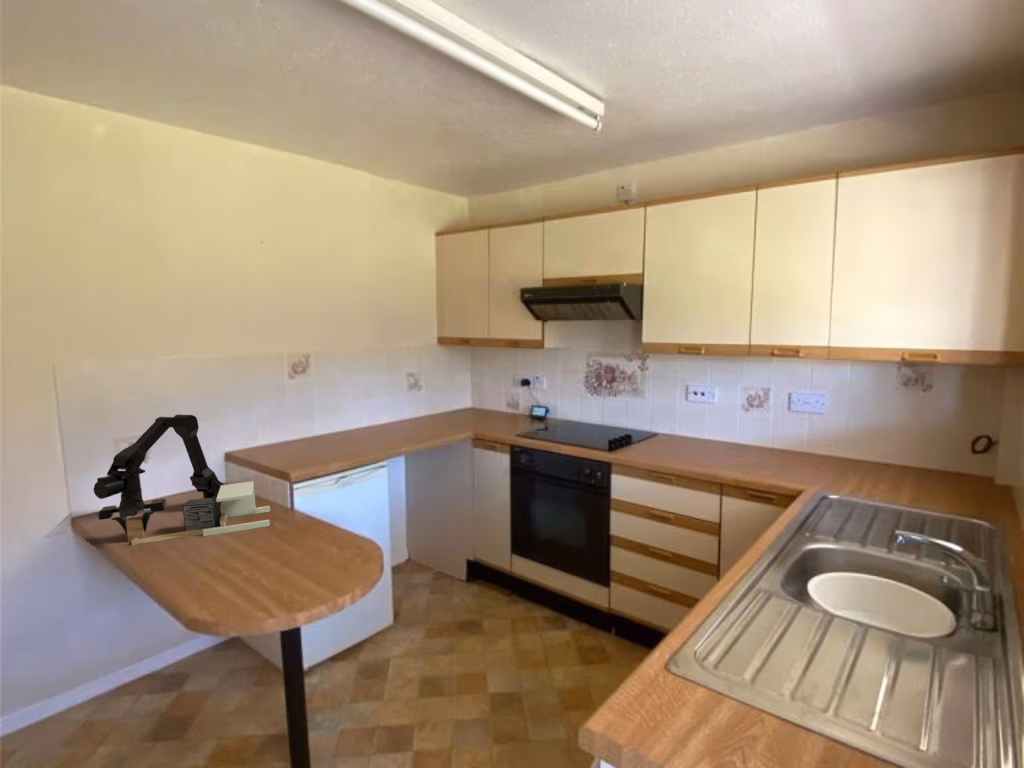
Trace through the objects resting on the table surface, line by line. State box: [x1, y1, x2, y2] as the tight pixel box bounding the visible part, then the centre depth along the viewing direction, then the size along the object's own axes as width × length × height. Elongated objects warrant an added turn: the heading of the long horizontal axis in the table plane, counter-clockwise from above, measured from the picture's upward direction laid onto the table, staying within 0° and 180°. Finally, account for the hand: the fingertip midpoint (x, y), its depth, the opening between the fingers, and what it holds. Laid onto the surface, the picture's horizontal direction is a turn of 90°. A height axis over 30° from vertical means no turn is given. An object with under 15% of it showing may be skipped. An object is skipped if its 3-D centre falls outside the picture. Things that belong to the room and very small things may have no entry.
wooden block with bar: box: [126, 509, 228, 546], centre depth 193 cm, size 12×29×7 cm, turn 113°
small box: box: [181, 498, 222, 532], centre depth 195 cm, size 11×6×10 cm, turn 98°
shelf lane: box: [202, 480, 271, 537], centre depth 200 cm, size 17×21×12 cm
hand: (136, 532), depth 189 cm, fingers open, 5 cm apart
